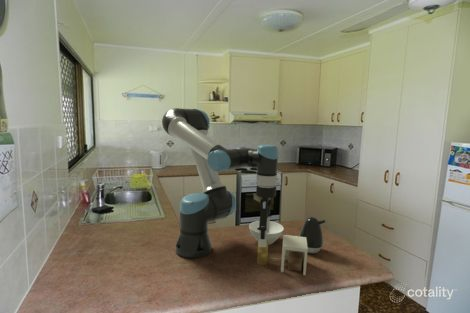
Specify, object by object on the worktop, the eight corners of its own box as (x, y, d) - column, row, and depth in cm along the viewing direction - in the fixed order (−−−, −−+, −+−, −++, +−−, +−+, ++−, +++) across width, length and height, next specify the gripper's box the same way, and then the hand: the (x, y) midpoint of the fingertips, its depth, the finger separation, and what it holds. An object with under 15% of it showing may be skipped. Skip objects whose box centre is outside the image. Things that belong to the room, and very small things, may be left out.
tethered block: (256, 265, 109) (257, 243, 108) (257, 258, 114) (258, 237, 113) (301, 271, 106) (302, 248, 105) (300, 264, 111) (302, 243, 110)
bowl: (260, 251, 120) (260, 236, 119) (242, 237, 134) (242, 223, 133) (290, 245, 128) (291, 230, 127) (269, 232, 142) (270, 218, 141)
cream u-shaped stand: (280, 271, 105) (282, 246, 104) (281, 258, 115) (283, 234, 114) (305, 275, 104) (307, 249, 102) (304, 261, 114) (306, 237, 112)
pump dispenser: (324, 257, 117) (327, 222, 115) (298, 254, 119) (300, 220, 117) (321, 247, 127) (324, 214, 125) (298, 244, 129) (300, 212, 127)
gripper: (274, 194, 94) (271, 254, 97) (278, 179, 119) (275, 228, 121) (252, 192, 96) (250, 252, 98) (260, 178, 120) (258, 226, 123)
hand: (264, 239), depth 110 cm, fingers open, 13 cm apart
